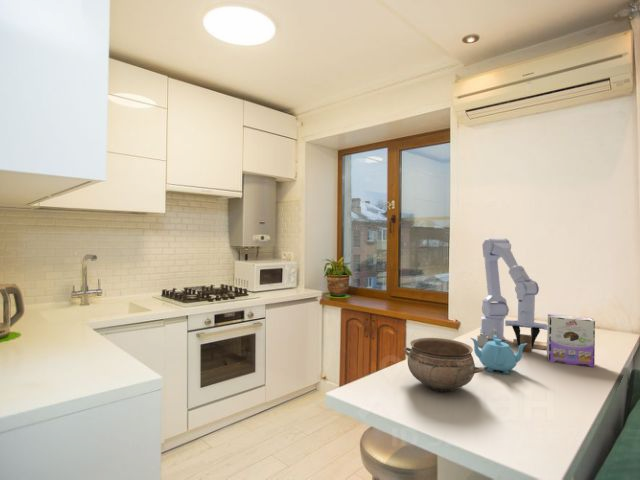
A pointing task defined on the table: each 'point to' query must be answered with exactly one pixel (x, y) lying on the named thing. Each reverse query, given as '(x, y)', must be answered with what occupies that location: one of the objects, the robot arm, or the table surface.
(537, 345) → the board
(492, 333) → the lighter
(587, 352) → the candy box
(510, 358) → the teapot
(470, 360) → the cooking pot
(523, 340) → the brown wooden block
